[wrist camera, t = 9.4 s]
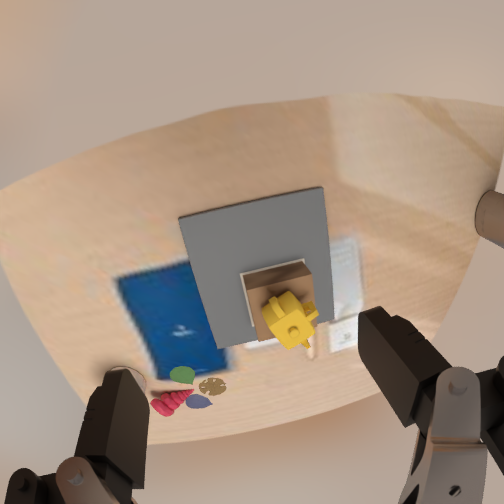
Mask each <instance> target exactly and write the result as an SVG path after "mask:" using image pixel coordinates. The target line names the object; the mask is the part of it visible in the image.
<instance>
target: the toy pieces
mask: <svg viewBox="0 0 504 504" xmlns="http://www.w3.org/2000/svg"><path fill="white" fill-rule="evenodd" d="M170 377H171V379H172V380H173V381H175V382H179V383H186V384H192V385H193V380H194V378H195V371H194V370H192V369H191V368H190V367H185V366H180V367H176V368H174V369H173V370H172V371H171V372H170ZM213 379H216V381H215V382H213ZM207 380H208V382H207V383H204V382H205V381H206V380H204V381H203V382H202V383H200V384H199V389H200V391H201V392H202V393H204V394H205V393H206V392H207V391H210V393H209V395H213V396H215V395H217V394H221V393H223V392H224V391H225V390H226V386H220V385H222V384H224V385H225V384H226V383H224V382H223V380H221V379H219V378H208V379H207ZM201 386H202V387H205V388H201ZM193 391H194V389H192V390H186V391H184V390H183V391H182V392H181V391H179V392H177V394H176V393H175V392H172V393H171V394H170V395H169V394H167V393H165V394H162V396H161V400H162V401H161V400H159V399H156V398H155V399H153V400H152V401H151V403H150V404H151V405H152V406H153V408H154V409H155V410H156V411H157V412H159V413H160V414H161V415H163V416H170V415H172V414H173V413H174V409H177V408H178V407H179V406H180V404H182V403H183V402H184V400H186V405H187V406H188V407H190V408H196V409H198V408H205V407H207V406H209V405H212V403H211V402H210V401H209V399H208V398H206V397H203V396H201V395H198V394H193V395H190V394H191V393H192V392H193ZM189 395H190V396H189ZM187 397H188V398H187Z"/></svg>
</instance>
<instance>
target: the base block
mask: <svg viewBox="0 0 504 504" xmlns="http://www.w3.org/2000/svg"><path fill="white" fill-rule="evenodd" d="M243 279H244V284H245V288H246V292H247V297H248V301H249V305H250V310H251V314H252V318H253V322H254V326H255V330H256V334H257V337H258V341H259V342H260V341H264V340H268V339H272V338H276V337H275V335H274V334H273V333H272V332H271V330H270V329H269V327H268V325H267V323H266V321H265V319H264V317H263V315H262V308H263V307H264V306H266V305H267V304H269V303H270V302H269V299H271V298H272V297H274V296H275V297H276V298H278V297H279V296H281V295H282V294H284V293H286V292H287V291H290V292H291V293H292V294H293V295H294V296H295V297H296V298H297V299H298V301H299V302H300V303H301V304H303V303H306V302H310V301H312V302H313V304H314V305H315V297H314V287H313V278H312V273H311V272H310V271H309V269H308V268H307V267H306V265H305V264H304V263H303V261H300V262H296V263H292V264H288V265H284V266H280V267H275V268H271V269H267V270H263V271H259V272H255V273H250V274H246V275H243ZM309 312H311V311H308V312H307V314H308V313H309ZM311 322H312V324H313V327H316V326H317V319H316V317H315V318H314V319H313V320H311Z"/></svg>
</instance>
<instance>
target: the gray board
mask: <svg viewBox="0 0 504 504" xmlns="http://www.w3.org/2000/svg"><path fill="white" fill-rule="evenodd" d="M178 221H179V225H180V228H181V232H182V235H183V239H184V242H185V246H186V249H187V253H188V256H189V260H190V263H191V267H192V270H193V273H194V277H195V280H196V283H197V286H198V290H199V293H200V296H201V299H202V302H203V306H204V309H205V312H206V315H207V318H208V321H209V324H210V327H211V330H212V333H213V336H214V339H215V342H216V345H217V348H218V349H220V348H225V347H229V346H234V345H238V344H242V343H247V342H251V341H255V340H258V337H257V334H256V330H255V326H254V322H253V318H252V314H251V310H250V305H249V301H248V297H247V292H246V288H245V284H244V279H243V275H246V274H250V273H255V272H259V271H263V270H267V269H271V268H275V267H280V266H284V265H288V264H292V263H296V262H300V261H303V263H304V264H305V265H306V267H307V268H308V269H309V271H310V272H311V273H312V278H313V287H314V297H315V307H316V309H317V311H318V313H319V315H318V316H317V317H316V319H317V324H319V323H322V322H326V321H329V320H333V319H334V301H333V285H332V271H331V258H330V247H329V236H328V227H327V217H326V208H325V200H324V192H323V188H322V187H317V188H312V189H307V190H302V191H297V192H292V193H287V194H282V195H277V196H272V197H268V198H263V199H258V200H254V201H249V202H245V203H240V204H236V205H231V206H227V207H223V208H218V209H214V210H210V211H206V212H201V213H197V214H193V215H189V216H185V217H181V218H179V219H178Z"/></svg>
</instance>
